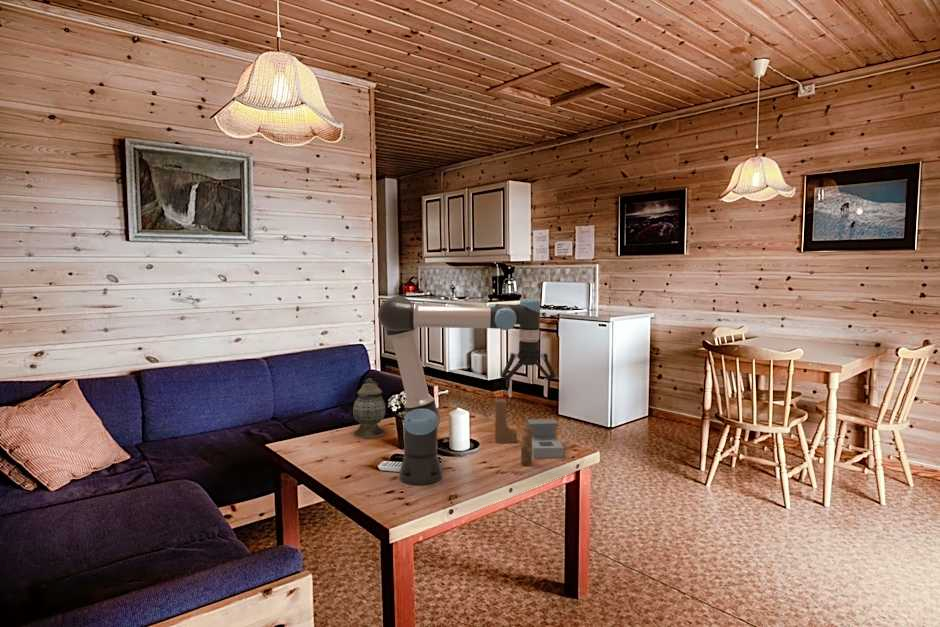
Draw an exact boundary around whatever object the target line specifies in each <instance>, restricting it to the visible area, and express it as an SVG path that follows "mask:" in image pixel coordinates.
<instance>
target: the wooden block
mask: <svg viewBox="0 0 940 627" xmlns="http://www.w3.org/2000/svg"><path fill="white" fill-rule="evenodd" d="M507 404H508V403H507V400H506V399H505V398H495V404H494V405H495V415H494V416H495V418H494V420H495V421H494V422H495V424H494V426H495V427H494V431H495V432H494V434H495V435H494V442H495V443H496V444H498V443H499V444H517V440H518V439H517V438H518V436H517V435H518V434H517V430H516V429H513V428H510V427H509V426H508V425H507Z"/></svg>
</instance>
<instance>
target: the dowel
mask: <svg viewBox="0 0 940 627" xmlns="http://www.w3.org/2000/svg"><path fill="white" fill-rule="evenodd" d="M520 440H521V445H520V446H521V447H520V449H521V450H520V457H521V458H520V465H521V466H524V467H531V466H532V465H533V464H532V463H533V460H532V459H533V456H532V428H531V427H527V426H522V427H521V439H520Z"/></svg>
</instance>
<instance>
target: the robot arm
mask: <svg viewBox="0 0 940 627" xmlns="http://www.w3.org/2000/svg"><path fill="white" fill-rule="evenodd" d="M377 317H378V321H379V324H381V326H382V327H383V328H385V332H386V336H387V337H388V338H390V339H391V340H392V343H393V344H392V345H393V348H394V353H395V356H396V360H397V365H398V369H399V373H400V378H401V381H402V386H403V389H404V394H405V398H406V401H405V404H404V406H403V407H404V411H405V415H404V418H403V428H404V429H403V432H404V434H403V435H404V437H403V439H404V440H403V441H404V444H403V445H404V451H403V452H404V453H403V454H404V457H403V459H402V463H401V466H400V469H399V479H400V480H401V482H403V483H405V484H409V485H412V486H413V485H415V486H425V485H432V484H434V483H437V482H439V481H440V480H442V477H443V469H442V467H441V463H440V460H439V457H438V431H439V425H440V423H441V422H440V421H441V420H440V419H441V415H440V411H439V410H438V408H437V405H436V400H435V397H433V396H431V395H430V393H429V392H430V391H429V389H428V384H427V380H426V377H425V372H424V367H423V364H422V359H421V356H420V351H419V346H418V343H417V338H416V332H417V330H418V328H437V329H439V328H442V329H443V328H445V329H446V328H447V329H453V328H454V329H458V328H459V329H494V330H495V329H497V330H502V331H509V330H511V329H513V328H514V327H515V326H516V325H519V332H518V333H519V335H518V339H519V341H518V353H514V352H510V354H509V359H508V361H507V363H506V365H505V367H504V369H503V370H502V373H501V375H500V376H501V378H502V379H505V387H506V389H508V393H507V394H508V395H507V396H508V397H509V398H512V394H513V393H512V392H513V391H512V390H513V389H512V387H513V386H512V384H513V380H512V377H513V376H514V375H515V374H516V373H517V372H518V371H519V369H520V368H521V367H522V366H531V367H533V366H535V365H536V367H537V368H538V369H539V370H540V372H541V373H542V374H543V375H544V376H545V378H544V379H543V396H544V397H545V398H548V389H550V388H551V381H552V379H555V378H556V374H555V372H554V370H553V368H552V365H551V364H550V361H549V358H548V354H547V353H546V352H542V353H540V341H539V340H540V330H541V329H540V327H541V326H540V325H541V302H540V300H538V299H535V298H522V299H520V300H519V303H518V304H517V303H515V304H507V303H505V304H504V303H493V304H492V303H490V304H488V306H460V305H459V306H458V305H457V306H453V305H451V306H450V305H449V306H448V305H419V304H418V303H417V302H412V301H411V300H410V299H408V298H406V297H404V296H402V295H401V296H400V295H396V296H392V297H389V298H388V299H386V300H385V301H384V302H383V303H381V305H380V306H379V309H378V312H377ZM540 358H541V360H543V362H544V364H545V366H546V368H547V371H548V372H549V374H548V372H547V371H546V370H545V369H544V367H543V366H542V365H541V364H540V362H539V360H540ZM517 359H519V360H518V361H517V363H516V364H515V365H514V366H513V367H512V365H513V364H514V361H515V360H517ZM511 367H512V369H511ZM510 369H511V370H510Z"/></svg>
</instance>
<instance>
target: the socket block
mask: <svg viewBox="0 0 940 627" xmlns="http://www.w3.org/2000/svg"><path fill="white" fill-rule="evenodd" d="M559 425H560V424H559V422H558V420H556V418H537V419H536V418H532V419H531V418H530V419H529V418H527V419H526V427H531V428H532V459H561V458H562V459H563V458H564V456H565V448H564V446H563V443H561V442H560V440H559V439H558V436H556V434H557V430H556V428H557V427H558V426H559Z"/></svg>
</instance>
